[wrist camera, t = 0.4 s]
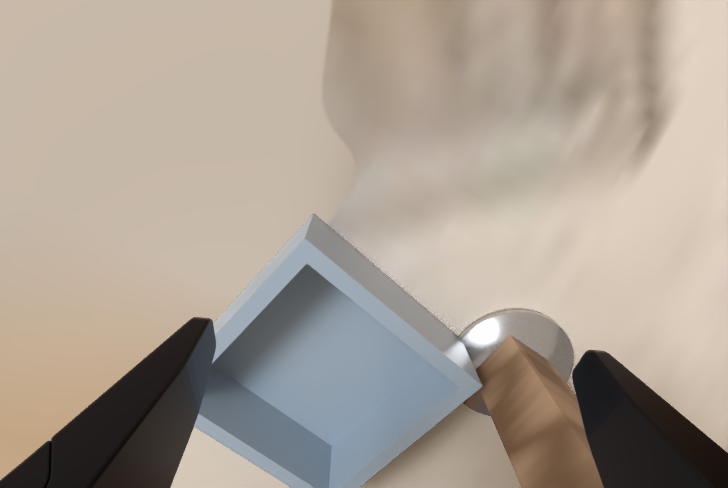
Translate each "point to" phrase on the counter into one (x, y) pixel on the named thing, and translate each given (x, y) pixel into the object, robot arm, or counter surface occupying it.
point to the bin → (329, 367)
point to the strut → (537, 419)
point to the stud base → (523, 327)
